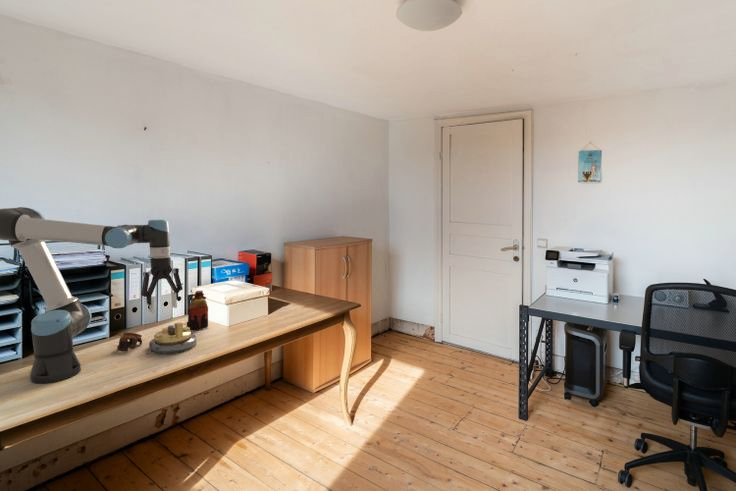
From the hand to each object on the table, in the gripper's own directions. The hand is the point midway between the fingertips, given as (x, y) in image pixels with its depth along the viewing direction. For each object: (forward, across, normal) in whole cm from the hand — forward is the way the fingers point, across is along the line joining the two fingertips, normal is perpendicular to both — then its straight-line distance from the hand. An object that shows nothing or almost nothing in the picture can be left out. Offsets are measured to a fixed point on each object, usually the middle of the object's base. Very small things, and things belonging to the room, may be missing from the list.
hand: (163, 309), depth 172 cm
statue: (+20, +25, +22) cm, 39 cm away
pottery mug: (+20, -8, +18) cm, 27 cm away
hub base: (+19, +6, +6) cm, 21 cm away
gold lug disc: (+16, +6, +6) cm, 18 cm away
